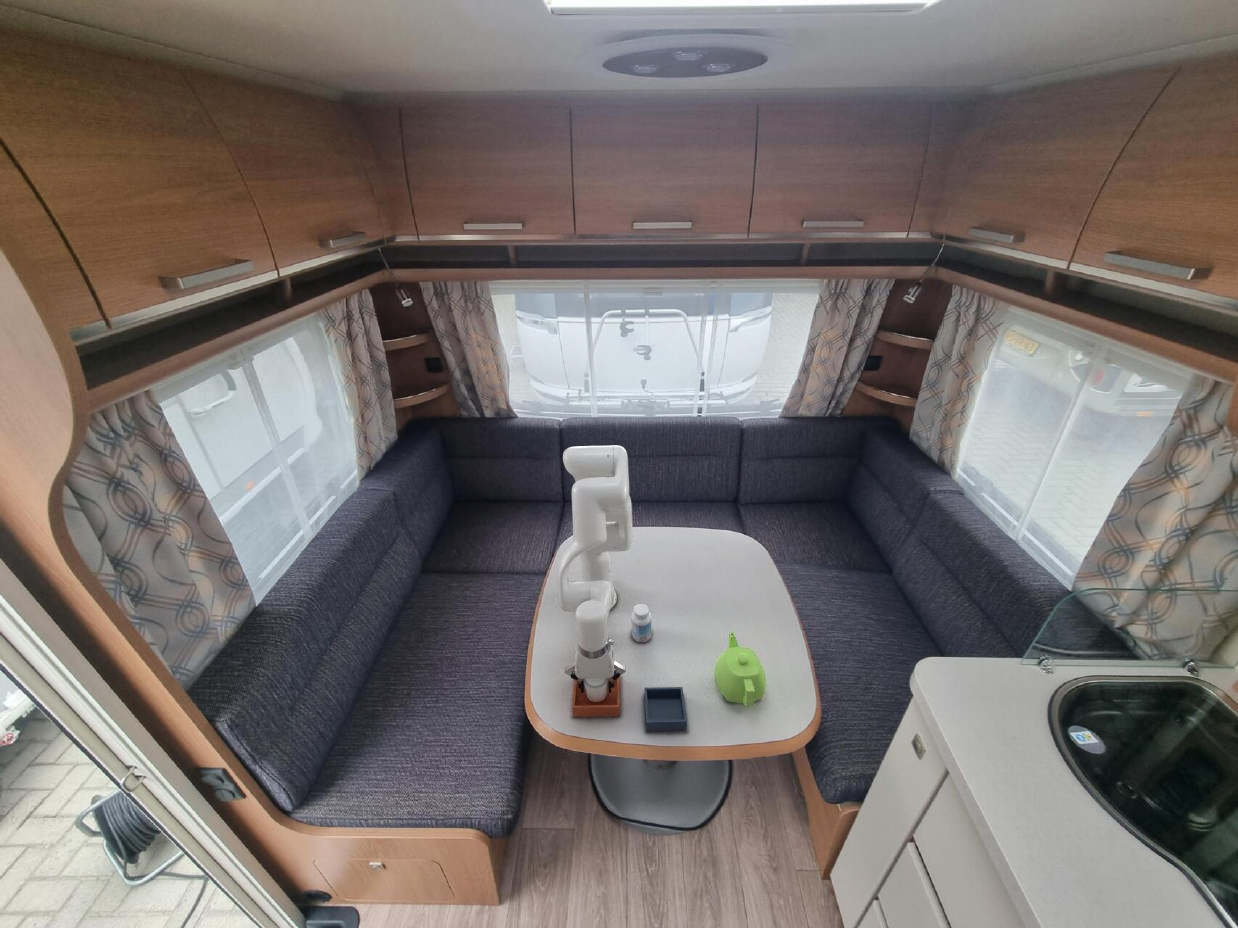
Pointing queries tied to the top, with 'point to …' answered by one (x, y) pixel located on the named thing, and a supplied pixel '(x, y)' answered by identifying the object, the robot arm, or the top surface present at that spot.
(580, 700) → the orange brown square tray
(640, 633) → the pill bottle
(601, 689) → the shot glass
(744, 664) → the teapot
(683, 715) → the bin
